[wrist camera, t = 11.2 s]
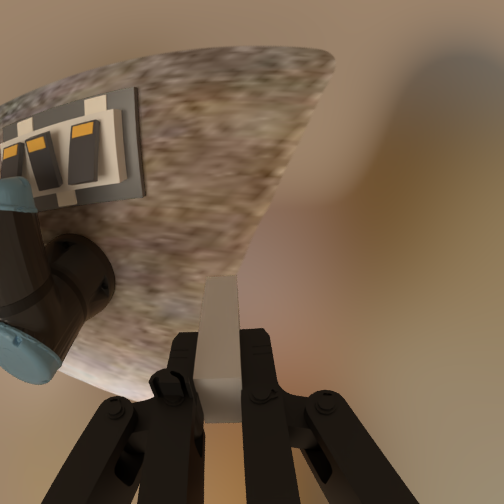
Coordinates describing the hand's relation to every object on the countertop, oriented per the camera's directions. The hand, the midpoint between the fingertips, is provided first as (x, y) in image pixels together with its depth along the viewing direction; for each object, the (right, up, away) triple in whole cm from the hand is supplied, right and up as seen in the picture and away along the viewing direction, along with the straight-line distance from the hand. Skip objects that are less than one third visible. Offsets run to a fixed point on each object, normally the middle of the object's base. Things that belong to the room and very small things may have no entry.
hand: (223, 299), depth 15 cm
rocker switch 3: (-20, +15, +16) cm, 30 cm away
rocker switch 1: (-34, +14, +15) cm, 40 cm away
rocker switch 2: (-27, +15, +16) cm, 34 cm away
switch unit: (-27, +17, +22) cm, 39 cm away
